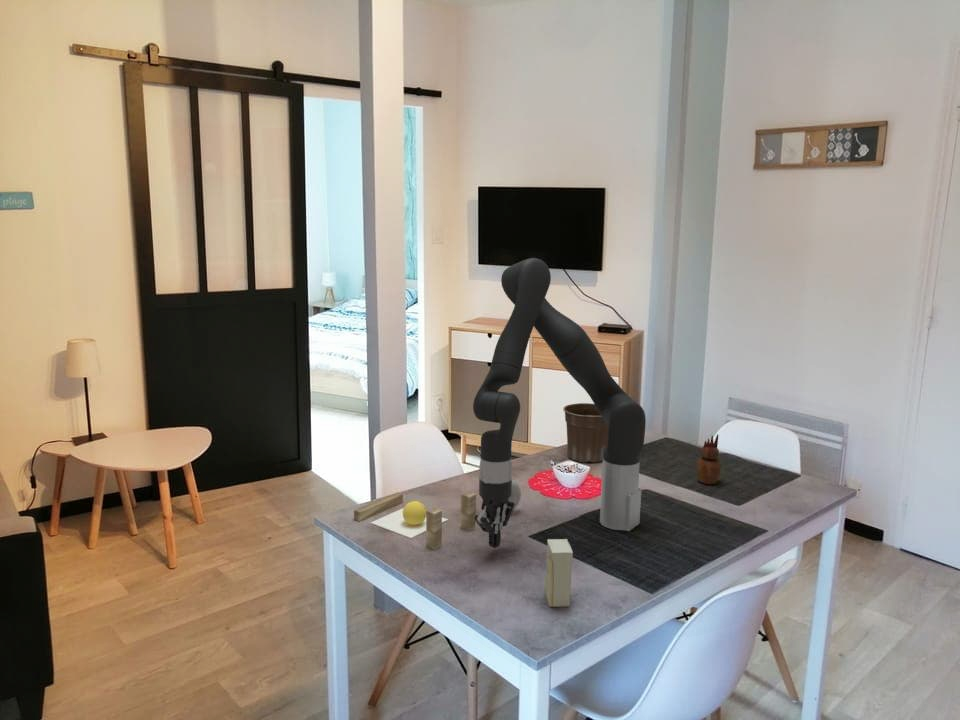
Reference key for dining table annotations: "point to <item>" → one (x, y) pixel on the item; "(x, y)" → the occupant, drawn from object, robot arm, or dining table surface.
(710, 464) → the wooden figurine
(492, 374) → the robot arm
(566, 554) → the skincare box
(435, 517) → the post left
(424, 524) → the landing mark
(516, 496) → the donut
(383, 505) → the wall
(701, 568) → the dining table surface
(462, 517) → the post right
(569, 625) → the dining table surface
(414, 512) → the ball
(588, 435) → the plant pot
